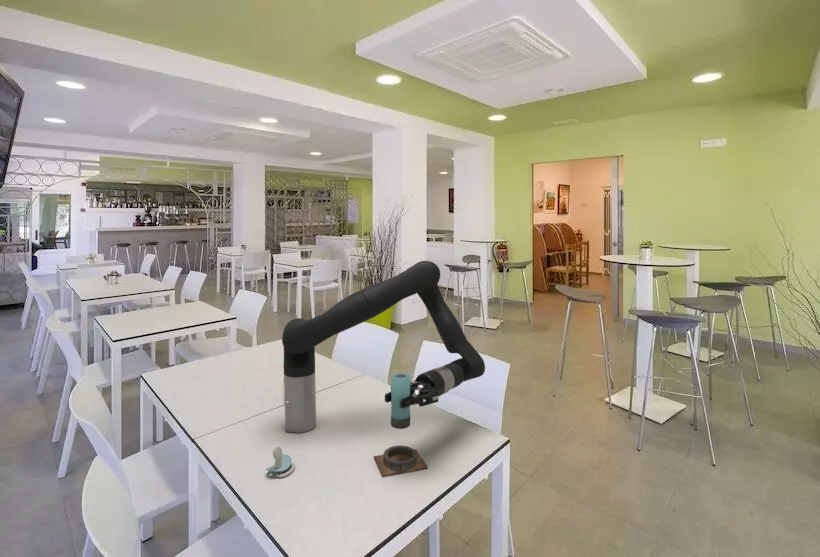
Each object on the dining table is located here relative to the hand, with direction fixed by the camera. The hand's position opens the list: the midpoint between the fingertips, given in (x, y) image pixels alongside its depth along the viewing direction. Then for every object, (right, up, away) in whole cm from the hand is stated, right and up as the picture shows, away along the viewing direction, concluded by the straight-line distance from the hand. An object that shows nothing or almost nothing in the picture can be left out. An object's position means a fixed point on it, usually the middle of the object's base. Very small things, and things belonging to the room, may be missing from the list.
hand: (393, 401), depth 110 cm
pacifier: (-28, -18, +1) cm, 34 cm away
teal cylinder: (+2, -7, +3) cm, 7 cm away
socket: (+2, -17, +4) cm, 18 cm away
